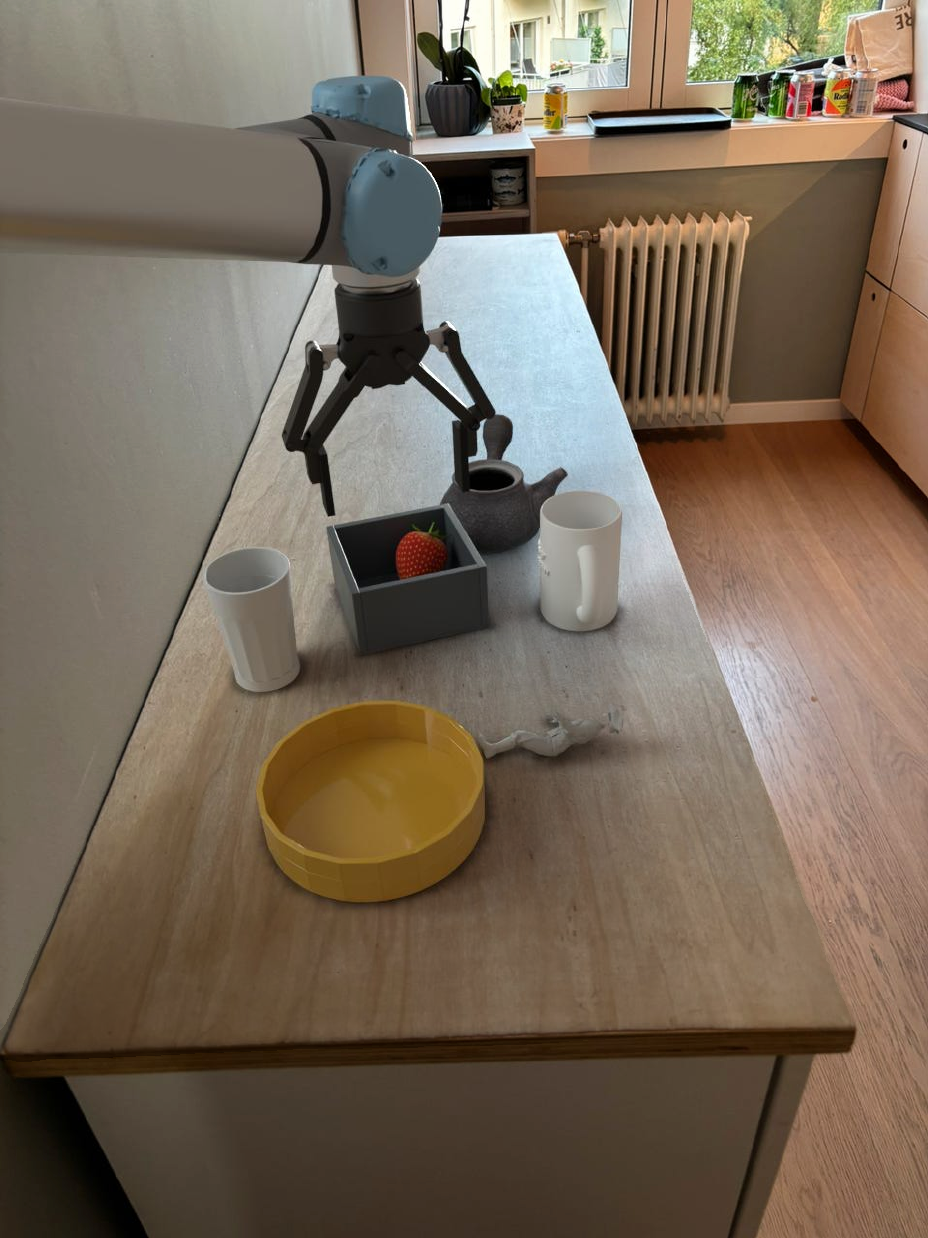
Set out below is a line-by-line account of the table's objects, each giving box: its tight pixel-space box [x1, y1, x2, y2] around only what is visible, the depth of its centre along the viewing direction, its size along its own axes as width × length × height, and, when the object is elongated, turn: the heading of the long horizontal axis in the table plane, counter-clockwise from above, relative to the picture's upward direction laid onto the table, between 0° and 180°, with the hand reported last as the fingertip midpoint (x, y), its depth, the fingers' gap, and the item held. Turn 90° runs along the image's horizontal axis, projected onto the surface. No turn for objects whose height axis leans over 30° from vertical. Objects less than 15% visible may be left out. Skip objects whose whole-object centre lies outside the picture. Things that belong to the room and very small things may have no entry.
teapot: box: [439, 413, 569, 553], centre depth 116 cm, size 19×15×10 cm
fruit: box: [396, 522, 452, 580], centre depth 105 cm, size 5×5×8 cm
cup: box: [201, 546, 301, 693], centre depth 93 cm, size 8×8×12 cm
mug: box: [537, 489, 623, 632], centre depth 98 cm, size 8×12×12 cm
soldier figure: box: [477, 702, 624, 760], centre depth 85 cm, size 8×5×12 cm
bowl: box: [255, 699, 486, 903], centre depth 80 cm, size 18×18×4 cm
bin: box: [325, 504, 490, 656], centre depth 103 cm, size 14×14×8 cm
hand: (396, 497), depth 97 cm, fingers open, 13 cm apart
